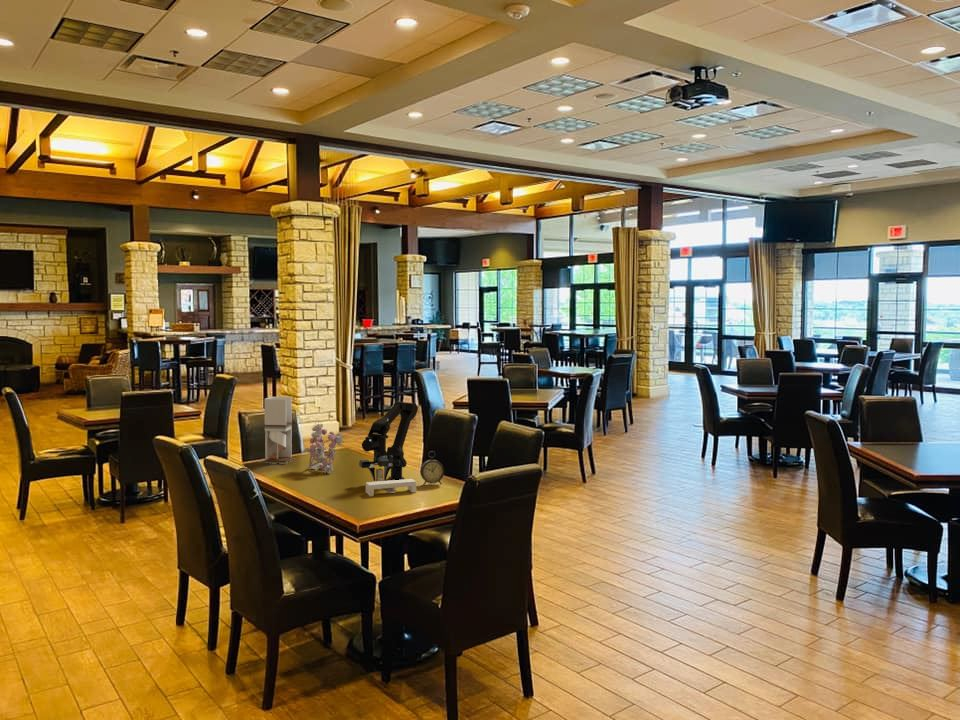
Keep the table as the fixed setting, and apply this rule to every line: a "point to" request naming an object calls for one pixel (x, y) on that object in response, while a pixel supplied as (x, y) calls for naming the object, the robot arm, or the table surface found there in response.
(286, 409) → the grey dispenser
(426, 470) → the alarm clock
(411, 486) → the cream bench
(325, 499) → the table surface
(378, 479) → the birch pusher
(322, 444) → the flower
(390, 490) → the steel disc
